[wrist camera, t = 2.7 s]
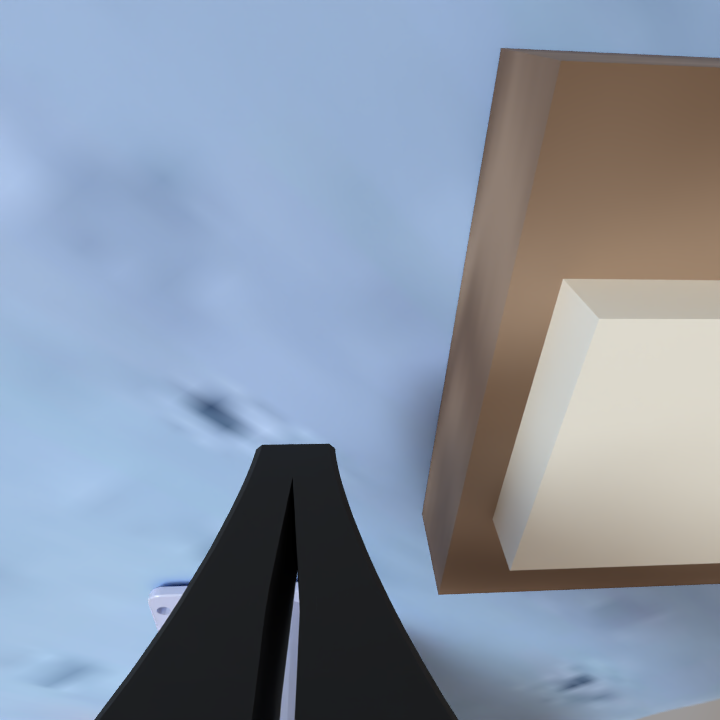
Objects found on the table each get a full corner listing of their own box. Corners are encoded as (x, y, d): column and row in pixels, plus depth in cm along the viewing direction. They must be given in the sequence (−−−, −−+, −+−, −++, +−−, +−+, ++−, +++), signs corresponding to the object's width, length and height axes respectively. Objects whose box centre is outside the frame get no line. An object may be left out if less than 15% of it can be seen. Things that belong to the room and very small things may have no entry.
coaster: (739, 512, 14) (780, 561, 13) (492, 519, 13) (509, 570, 12) (903, 281, 10) (986, 320, 9) (562, 279, 10) (599, 318, 8)
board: (741, 505, 19) (805, 580, 16) (422, 513, 18) (438, 594, 15) (1048, 73, 11) (1262, 91, 8) (500, 48, 10) (561, 60, 7)
